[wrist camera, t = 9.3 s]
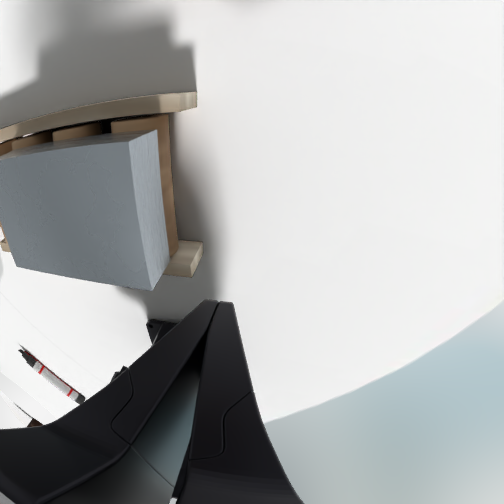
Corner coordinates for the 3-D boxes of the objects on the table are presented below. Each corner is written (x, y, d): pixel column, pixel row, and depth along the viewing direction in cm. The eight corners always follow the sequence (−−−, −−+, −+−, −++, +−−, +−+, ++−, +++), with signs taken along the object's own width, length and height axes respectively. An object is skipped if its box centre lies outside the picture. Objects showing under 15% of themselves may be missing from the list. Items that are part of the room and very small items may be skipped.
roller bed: (203, 253, 22) (189, 283, 19) (20, 235, 24) (-2, 254, 21) (196, 91, 16) (175, 94, 13) (-4, 130, 18) (-31, 142, 14)
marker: (86, 396, 43) (82, 404, 41) (83, 397, 44) (79, 405, 42) (22, 344, 38) (17, 351, 36) (21, 346, 39) (15, 354, 37)
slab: (170, 260, 18) (152, 290, 15) (39, 245, 19) (16, 266, 16) (157, 129, 14) (128, 141, 11) (15, 149, 15) (-14, 163, 12)
